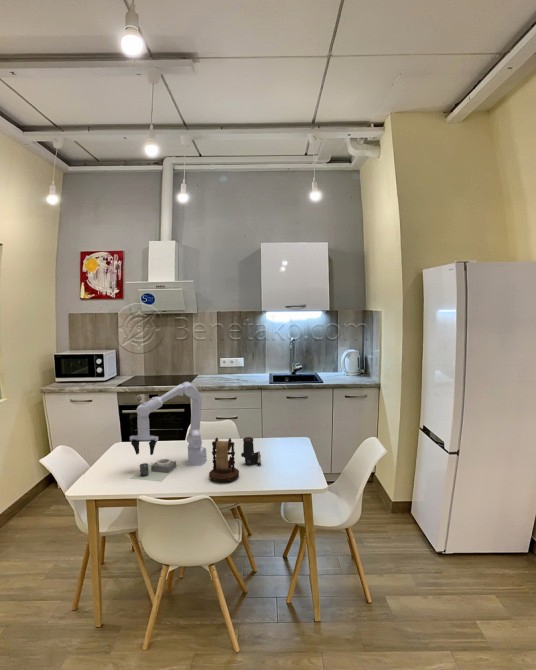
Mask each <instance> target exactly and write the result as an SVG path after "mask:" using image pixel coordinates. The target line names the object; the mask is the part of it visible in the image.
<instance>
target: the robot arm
mask: <svg viewBox="0 0 536 670" xmlns="http://www.w3.org/2000/svg"><path fill="white" fill-rule="evenodd" d="M184 395H185V396H187V397H188V398H190V399H191V401H192V402H191V416H190V425H189V427H190V428H189V431H188V435H187V436H186V441H187V443H188V445H187V462H186V463H185V465H186V466H187V465H188V466H200V467H202V466H203V465H204V464H206V462H208V460H207V459H208V458H207V447H203V446H202V444H203V441H202V438H201V435H202V433H201V429H200V428H201V415H202V401H203V397H202V395H201V394H200V391H199V390H198V387H196V386H195V385H193V384H192V383H191V382H189V381H184V382H183V383H180V384H178V385H177V386H175V387H174V388H171V389H170V390H169V391H168V392H165V393H164V394H163V395H161V396H153V397H151V399H150V400H147V401H145V402H143V404H139V405H138V406H137V408H136V410H135V412H136V414H137V417H136V418H137V420H136V421H137V434H136V435H130V436H129V441H131V442H130V444H131V445H132V447H133V449H134V452H135V455H139V454H140V441H143V442H144V441H147V442H148V445H149V454H150V456H153V455H154V451H155V447H156V445H157V442H158V441H159V436H157V435H151V434H150V433H151V432H150V418H149V415H150V413H153V412H154V411H156V410H157V409H160V408H161V407H163V404H164V403H165V402H168V400H171V399H173V398H175V397H177V396H181V397H182V396H184Z"/></svg>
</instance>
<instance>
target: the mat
mask: <svg viewBox="0 0 536 670" xmlns="http://www.w3.org/2000/svg"><path fill="white" fill-rule="evenodd" d="M154 463H155V462H153V463H152V462H150V463H148V473H149V475H148V476H146V477H141V476H140V471H138V472H137V473H135V474H134V475H132V476H131V477H130V478H129V479H131V480H132V479H133V480H139V481H151V482H159V483H161V482H163V481H164V480H165V479H166V478H167V477H169V475H171V474H172V473H173V472H174V471H175V470H177V469H178V468H179V467H180V465H177V464H176V468H175V469H173V470H172V471H171V472H170V473H163V472H152V471H151V466H152V465H153V464H154Z"/></svg>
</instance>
